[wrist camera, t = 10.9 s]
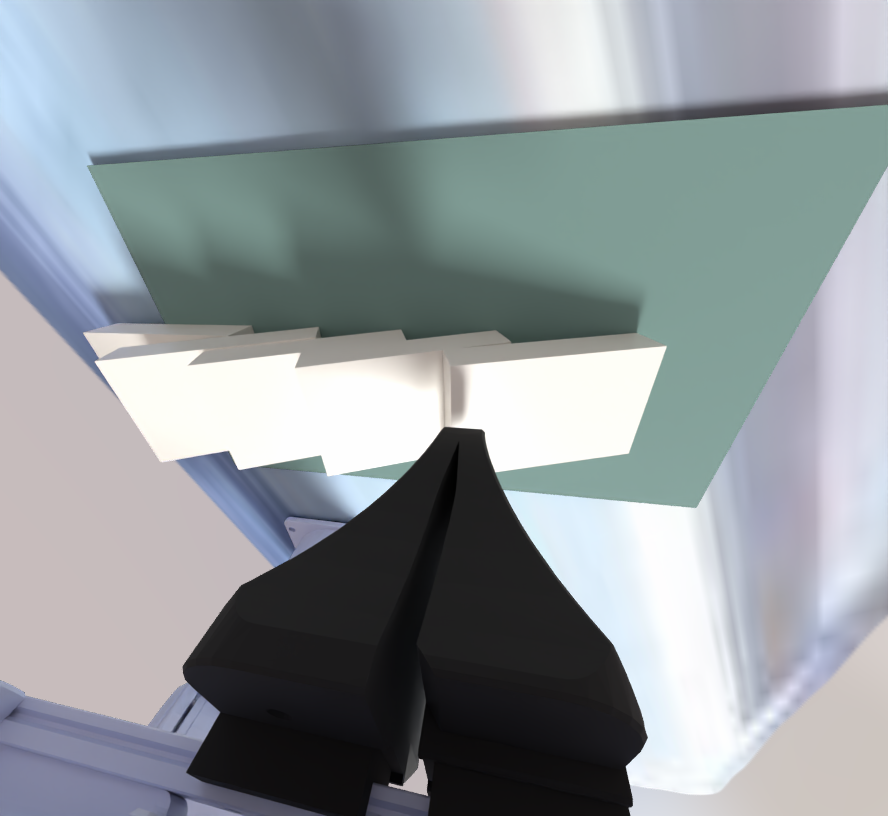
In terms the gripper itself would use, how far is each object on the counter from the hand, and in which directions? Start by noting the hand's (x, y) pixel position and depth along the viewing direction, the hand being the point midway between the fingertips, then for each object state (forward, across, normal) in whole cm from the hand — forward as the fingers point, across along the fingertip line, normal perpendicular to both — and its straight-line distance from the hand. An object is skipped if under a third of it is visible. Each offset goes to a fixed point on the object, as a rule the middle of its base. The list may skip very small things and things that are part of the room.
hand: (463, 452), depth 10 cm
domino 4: (+5, -7, 0) cm, 8 cm away
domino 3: (+5, -1, 0) cm, 5 cm away
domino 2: (+5, +3, 0) cm, 6 cm away
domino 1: (+5, +7, 0) cm, 9 cm away
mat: (+6, +2, -1) cm, 6 cm away
